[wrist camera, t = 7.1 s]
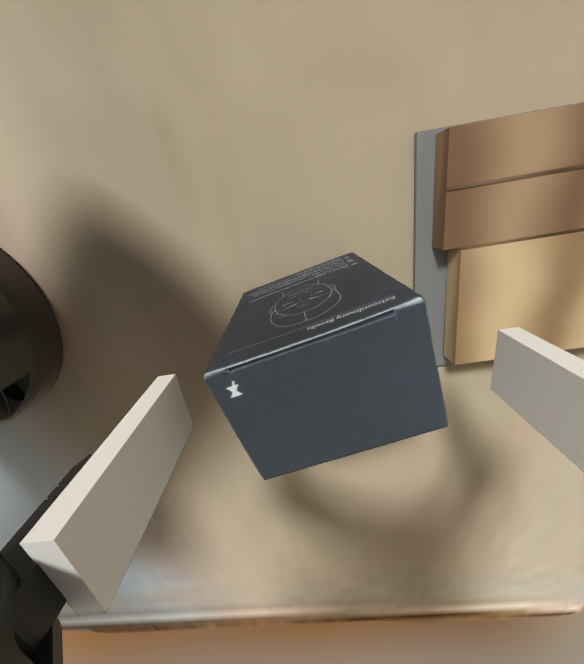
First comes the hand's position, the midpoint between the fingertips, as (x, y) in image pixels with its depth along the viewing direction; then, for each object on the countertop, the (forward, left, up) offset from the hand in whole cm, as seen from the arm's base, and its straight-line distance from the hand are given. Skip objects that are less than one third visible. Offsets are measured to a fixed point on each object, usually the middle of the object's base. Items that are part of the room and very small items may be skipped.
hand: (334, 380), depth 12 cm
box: (0, 0, -9) cm, 9 cm away
